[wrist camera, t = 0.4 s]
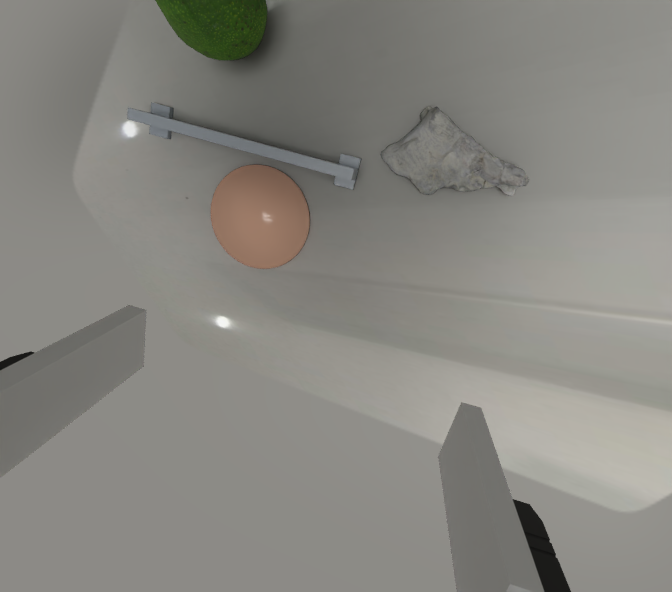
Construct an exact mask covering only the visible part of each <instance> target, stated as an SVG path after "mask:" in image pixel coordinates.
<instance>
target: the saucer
mask: <svg viewBox="0 0 672 592" xmlns="http://www.w3.org/2000/svg"><path fill="white" fill-rule="evenodd" d="M211 221H212V226H213V229H214V232H215V235H216V237H217V239H218V241H219V242H220V244H221V245H222V247H223V248H224V249H225V250H226V252H227V253H228V254H229V255H231V256H232V257H233V258H234V259H236V260H237V261H239V262H240V263H242V264H244V265H247V266H250V267H254V268H260V269H269V268H275V267H278V266H281V265H283V264H285V263H287V262H289V261H290V260H291V259H293V258H294V257H295V256H296V255H297V254H298V253H299V252H300V250H301V249H302V247H303V246H304V244H305V242H306V239H307V236H308V233H309V227H310V214H309V208H308V204H307V202H306V199H305V197H304V195H303V193H302V191H301V190H300V188H299V187H298V185H297V184H296V183H295V182H294V181H293V180H292V179H291V178H290V177H289V176H288V175H286V174H285V173H283V172H282V171H280V170H278V169H276V168H273V167H270V166H265V165H247V166H243V167H240V168H238V169H235V170H234V171H232V172H230V173H229V174H228V175H227V176H225V177H224V179H223V180H222V181H221V182H220V184H219V185H218V186H217V188H216V190H215V193H214V195H213V198H212V203H211Z"/></svg>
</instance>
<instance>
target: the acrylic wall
mask: <svg viewBox="0 0 672 592" xmlns="http://www.w3.org/2000/svg"><path fill="white" fill-rule="evenodd" d="M172 117H173V108H171V107H167V106H163V105H160V104H156V103H152V102H151V113H149V112H145V111H140V110H136V109H132V108H128V117H127V119H129V120H133V121H136V122H140V123H144V124H147V125H150V132H149V134H152V135H156V136H159V137H163V138H167V139H171V131H173V132H177V133H180V134H184V135H187V136H191V137H195V138H198V139H202V140H206V141H209V142H213V143H217V144H220V145H224V146H228V147H231V148H235V149H239V150H242V151H246V152H249V153H253V154H257V155H260V156H264V157H268V158H271V159H275V160H279V161H282V162H286V163H290V164H293V165H297V166H301V167H304V168H308V169H312V170H315V171H319V172H322V173H326V174H330V175H333V176H335V181H334V185H337V186H341V187H344V188H348V189H352V190H353V189H354V185H355V181H356V177H357V174H358V170H359V166H360V162H361V159H360V158H356V157H352V156H349V155H345V154H341V156H340V160H339V164H337V163H334V162H330V161H326V160H322V159H319V158H315V157H311V156H308V155H304V154H300V153H297V152H293V151H289V150H286V149H282V148H278V147H275V146H271V145H267V144H264V143H260V142H256V141H253V140H249V139H245V138H242V137H238V136H234V135H230V134H227V133H223V132H219V131H216V130H212V129H208V128H205V127H201V126H197V125H194V124H190V123H186V122H183V121H179V120H175V119H172Z"/></svg>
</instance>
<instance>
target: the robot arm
mask: <svg viewBox="0 0 672 592" xmlns="http://www.w3.org/2000/svg"><path fill="white" fill-rule="evenodd" d="M145 326H146V310H144V309H141V308H138V307H134V306H130V305H128V306H126V307H124V308H122V309H120V310H118V311H116V312H114V313H113V314H110V315H108V316H106V317H105V318H103V319H101V320H99V321H97V322H95V323H93V324H91V325H89V326H87V327H85V328H83V329H81V330H79V331H77V332H75V333H73V334H71V335H69V336H67V337H66V338H63V339H61V340H59V341H58V342H55V343H53V344H52V345H49V346H48V347H46V348H44V349H42V350H40V351H38V352H36V353H34V352H28V353H24V354H20V355H16V356H13V357H10V358H8V359H6V360H4V361H1V362H0V478H1V477H2V476H3V475H5V474H6V473H7V472H8V471H10V470H11V469H12V468H14V467H15V466H16V465H18V464H19V463H20V462H21V461H23V460H24V459H25V458H27V457H28V456H29V455H30V454H31V453H33V452H34V451H36V450H37V449H38V448H39V447H41V446H42V445H43V444H45V443H46V442H47V441H48V440H50V439H51V438H52V437H54V436H55V435H56V434H57V433H59V432H60V431H61V430H62V429H64V428H65V427H66V426H68V425H69V424H70V423H72V422H73V421H74V420H75V419H77V418H78V417H79V416H80V415H82V414H83V413H84V412H86V411H87V410H88V409H90V408H91V407H92V406H93V405H94V404H96V403H97V402H98V401H100V400H101V399H102V398H104V397H105V396H106V395H107V394H109V393H110V392H111V391H113V390H114V389H115V388H116V387H118V386H119V385H120V384H122V383H123V382H124V381H125V380H127V379H128V378H129V377H130V376H132V375H133V374H134V373H136V372H137V371H138V370H140V369H141V368H142V367H143V366H144V346H145ZM438 458H439V465H440V473H441V479H442V487H443V494H444V502H445V508H446V515H447V523H448V531H449V538H450V545H451V553H452V560H453V567H454V575H455V581H456V589H457V592H571V591H570V588H569V586H568V584H567V581H566V578H565V576H564V573H563V571H562V569H561V566H560V564H559V562H558V559H557V558H556V557H555V555H556V554H555V552H554V549H553V546H552V544H551V543H550V542H549V540H550V539H549V537H548V534H547V532H546V529H545V527H544V524H543V522H542V520H541V519H540V518H539V517H538V515H537V514H536V512H535V511H534V510H533V508H532V507H531V506H530V504H527V503H523V502H520V501H517V500H514V499H512V496H511V493H510V490H509V488H508V485H507V482H506V479H505V476H504V473H503V470H502V467H501V464H500V461H499V458H498V455H497V453H496V450H495V447H494V444H493V441H492V438H491V435H490V432H489V429H488V426H487V423H486V421H485V418H484V415H483V412H482V409H481V408H479V407H476V406H472V405H469V404H466V403H462V402H461V405H460V407H459V409H458V412H457V414H456V416H455V419H454V421H453V423H452V426H451V428H450V430H449V432H448V435H447V437H446V439H445V442H444V444H443V446H442V449H441V451H440V453H439V456H438Z"/></svg>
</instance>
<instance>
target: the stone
mask: <svg viewBox="0 0 672 592" xmlns="http://www.w3.org/2000/svg"><path fill="white" fill-rule="evenodd" d="M420 117H421V120H422V121H421V122H420V123H419V124H418V125H417V126H416V128H415V129H413V130H412V131H411V132H409V133H408V134H407V135H406V136H405V137H404V138H403V139H402V140H400V141H398V142H397V143H394V144H391V145H389V146H388V147H386V149H385V150H383V151H382V153H381V156H382V159H383V160H384V162H386V163H387V164H388V165H389V166H390V169H391V170H392V171H394V172H395V173H396V175H401V176H405V177H407V178H409V179H410V180H411V181H412V183H413V184H414V185H415V186H416V187H417V188H418V189H419V191H420V192H421V193H424V194H428V195H429V194H434V193H435V192H436V190H437V189H441V188H443V187H448V188H454V189H455V190H457V191H461V192H463V191H475V190H478V189H481V188H492V187H494V186H497V187H499V188H500V189H501V190H502V191H503V192H504V193H505V194H506V195H514V192H515V190H516V188H517V187H518V186H526V185H527V183H528V182H529V179H528V176H527V175H526V173H525V172H524V170H522V169H520V168H518V167H516V166H515V165H513V164H510V163H503V160H500V159H499V158H498V157H492V155H491V154H490V153H488V152H487V151H486V150H485V149H484V148H482V147H481V145H480V144H478V143H476V141H475V140H474V139H473V138H472V137H471V136H469V135H467V134H465V133H464V132H462V131H461V130H460V129H459V128H458V127H457V126H456V125H455V124H454V122H453V121H452V120H451V119H450V118H449V117H448V116H446V115H445V114H444V113H443V112H442V111H440V110H439V108H438V107H435V108H432V107H427V108H426V109H425V110H423V112H422V113H421V115H420Z"/></svg>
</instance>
